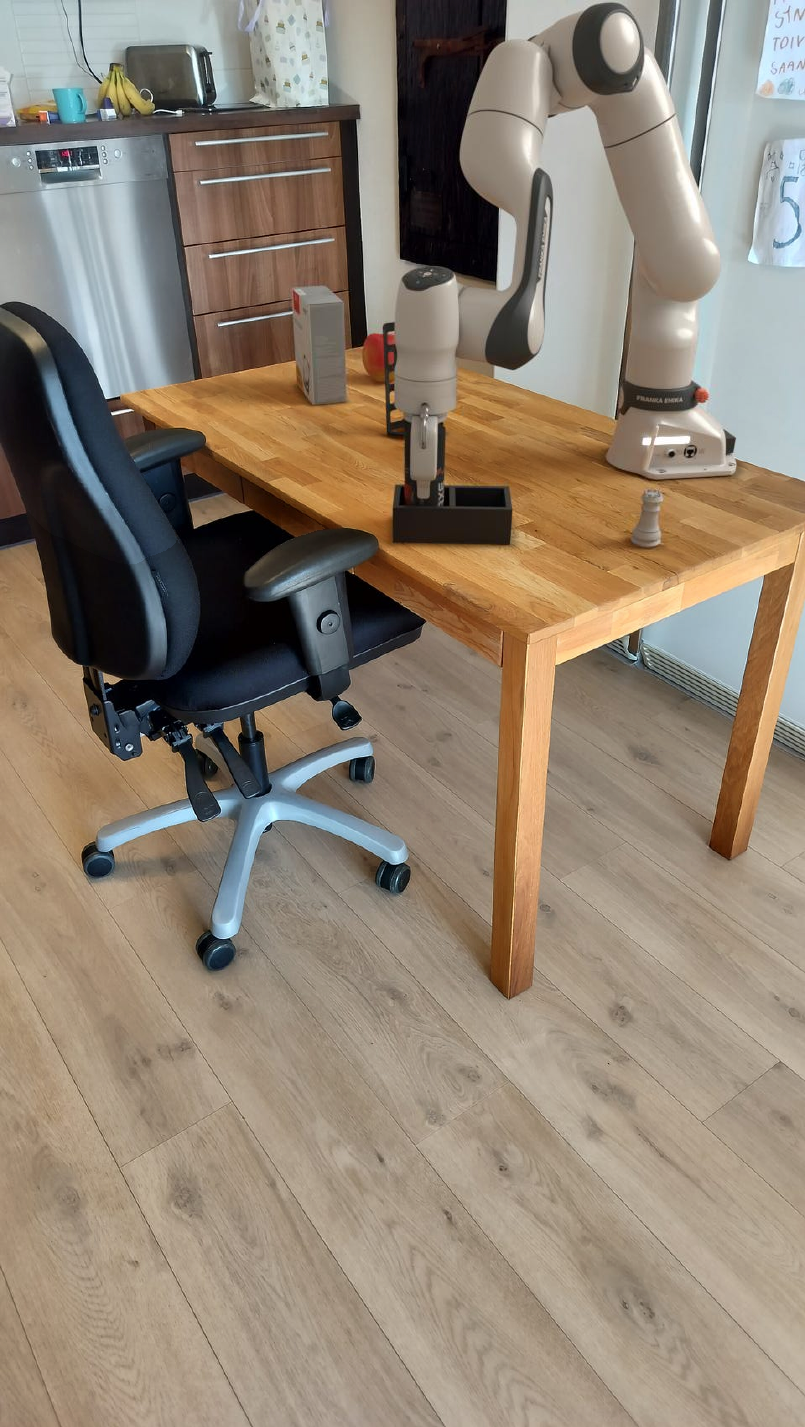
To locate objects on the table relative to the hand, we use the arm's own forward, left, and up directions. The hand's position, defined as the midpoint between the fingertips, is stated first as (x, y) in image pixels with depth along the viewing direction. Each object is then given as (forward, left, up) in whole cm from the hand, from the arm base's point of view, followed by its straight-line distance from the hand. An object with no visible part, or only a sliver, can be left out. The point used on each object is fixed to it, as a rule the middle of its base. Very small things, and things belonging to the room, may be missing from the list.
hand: (423, 487), depth 148 cm
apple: (+10, -80, -7) cm, 81 cm away
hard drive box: (+23, -70, -7) cm, 74 cm away
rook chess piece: (-33, +3, -7) cm, 34 cm away
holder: (+3, -46, -7) cm, 46 cm away
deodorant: (0, 0, -6) cm, 6 cm away
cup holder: (-4, 0, -7) cm, 8 cm away
